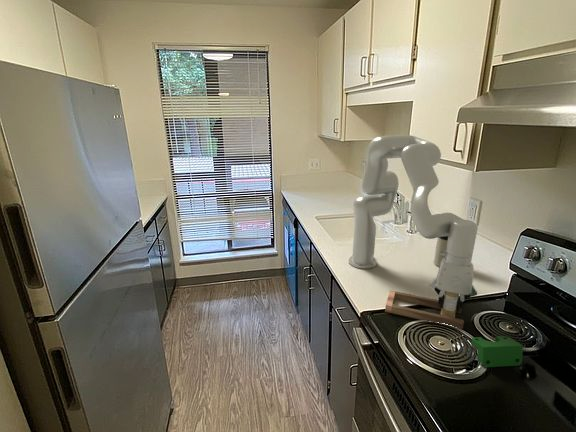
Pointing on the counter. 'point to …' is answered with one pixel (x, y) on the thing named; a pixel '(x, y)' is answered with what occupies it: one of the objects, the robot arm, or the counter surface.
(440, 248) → the travel mug
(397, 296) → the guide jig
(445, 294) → the sprinkles bottle
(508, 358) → the green toy brick
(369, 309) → the counter surface
